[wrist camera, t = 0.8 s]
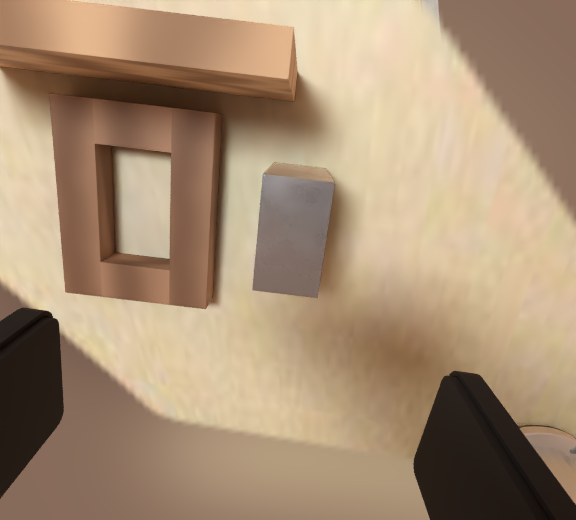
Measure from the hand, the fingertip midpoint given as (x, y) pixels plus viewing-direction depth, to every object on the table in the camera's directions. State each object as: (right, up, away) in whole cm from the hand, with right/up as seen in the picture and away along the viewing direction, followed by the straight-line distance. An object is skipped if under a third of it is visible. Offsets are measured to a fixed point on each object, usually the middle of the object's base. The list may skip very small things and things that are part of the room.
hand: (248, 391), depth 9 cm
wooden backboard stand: (-10, +9, +21) cm, 25 cm away
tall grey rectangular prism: (+2, +7, +21) cm, 23 cm away
